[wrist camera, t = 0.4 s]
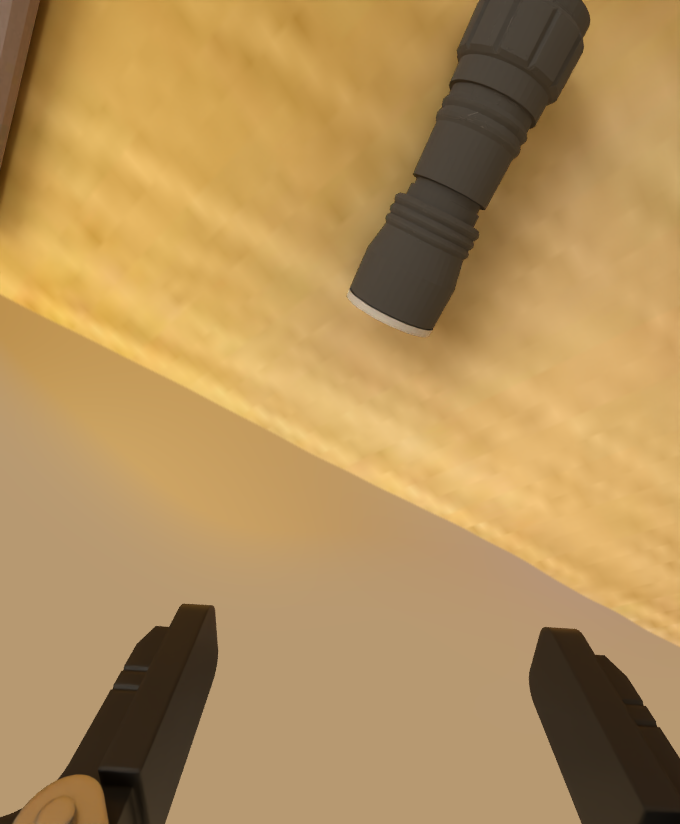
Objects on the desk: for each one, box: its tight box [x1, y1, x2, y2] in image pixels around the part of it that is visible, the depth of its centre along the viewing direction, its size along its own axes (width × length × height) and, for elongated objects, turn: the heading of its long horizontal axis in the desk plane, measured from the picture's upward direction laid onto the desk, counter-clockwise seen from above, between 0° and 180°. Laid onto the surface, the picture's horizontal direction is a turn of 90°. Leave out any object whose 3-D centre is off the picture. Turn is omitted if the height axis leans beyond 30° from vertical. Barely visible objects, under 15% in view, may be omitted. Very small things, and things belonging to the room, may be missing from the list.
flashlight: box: [347, 0, 590, 337], centre depth 22 cm, size 15×5×5 cm, turn 156°
